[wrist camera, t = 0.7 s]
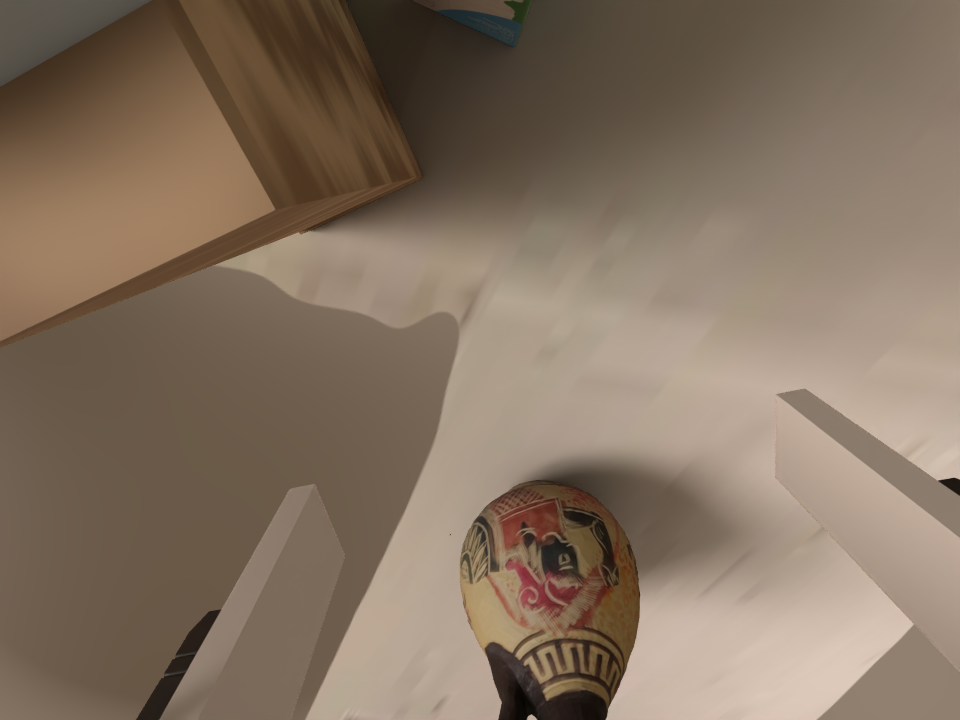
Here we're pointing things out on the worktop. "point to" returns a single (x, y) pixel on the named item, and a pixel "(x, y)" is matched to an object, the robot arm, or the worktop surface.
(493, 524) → the ceramic jug
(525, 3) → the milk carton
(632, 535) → the worktop surface
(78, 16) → the foil box
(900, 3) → the worktop surface
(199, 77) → the oak box
